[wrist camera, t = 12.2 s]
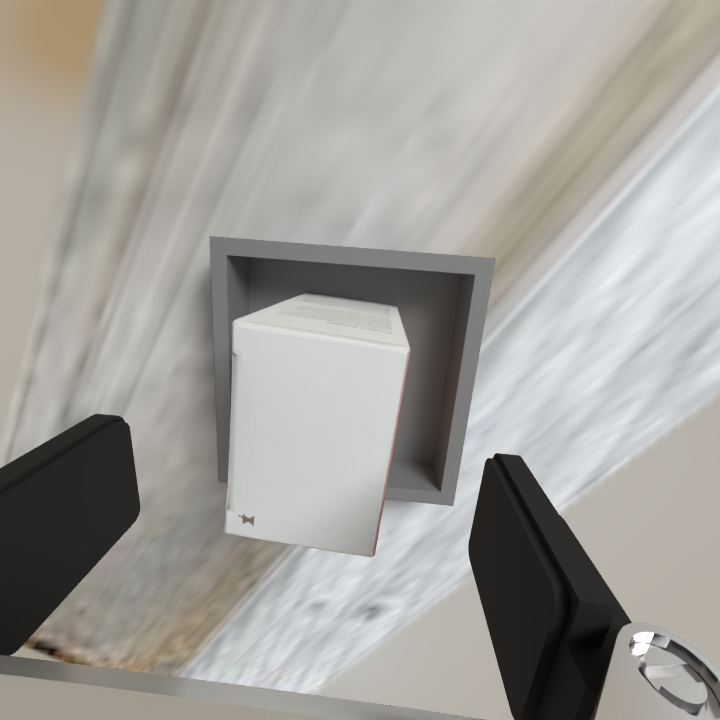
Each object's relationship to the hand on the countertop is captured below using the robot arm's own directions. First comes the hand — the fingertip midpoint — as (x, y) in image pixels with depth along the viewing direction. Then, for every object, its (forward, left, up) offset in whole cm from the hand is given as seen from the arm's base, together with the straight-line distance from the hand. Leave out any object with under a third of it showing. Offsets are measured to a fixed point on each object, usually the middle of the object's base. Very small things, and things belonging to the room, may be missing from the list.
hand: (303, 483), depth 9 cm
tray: (+1, 0, -13) cm, 13 cm away
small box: (0, 0, -13) cm, 13 cm away
